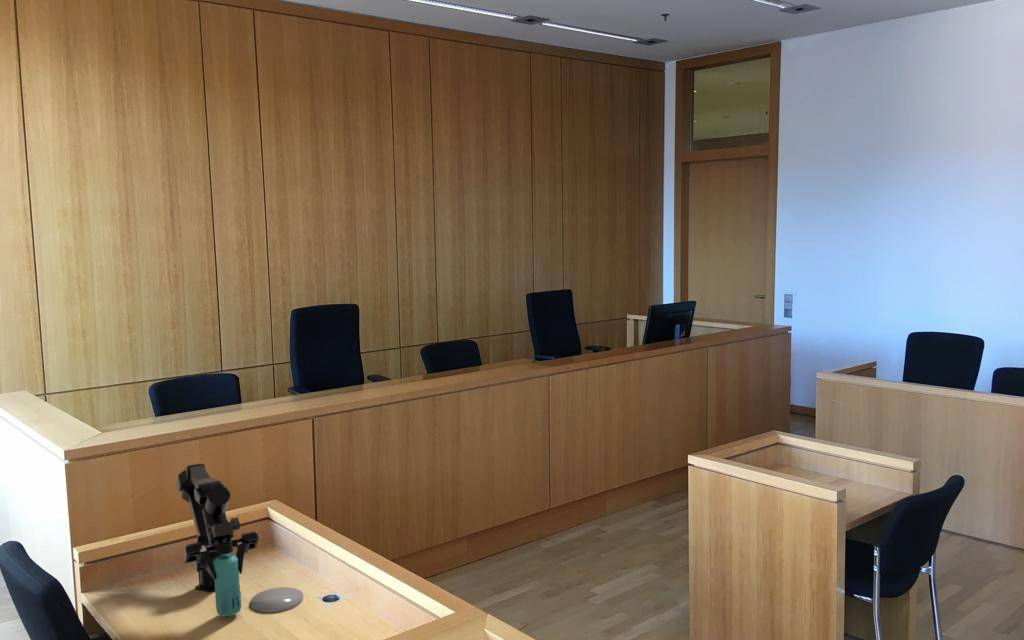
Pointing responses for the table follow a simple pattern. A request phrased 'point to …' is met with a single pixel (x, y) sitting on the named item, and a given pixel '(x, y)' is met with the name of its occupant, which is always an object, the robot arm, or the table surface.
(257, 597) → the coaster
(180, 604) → the table surface
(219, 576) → the beverage bottle
